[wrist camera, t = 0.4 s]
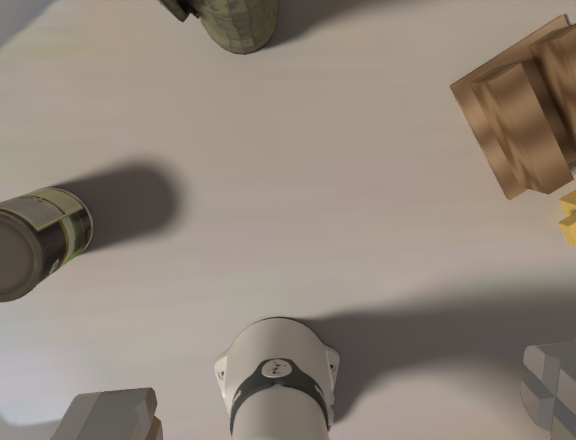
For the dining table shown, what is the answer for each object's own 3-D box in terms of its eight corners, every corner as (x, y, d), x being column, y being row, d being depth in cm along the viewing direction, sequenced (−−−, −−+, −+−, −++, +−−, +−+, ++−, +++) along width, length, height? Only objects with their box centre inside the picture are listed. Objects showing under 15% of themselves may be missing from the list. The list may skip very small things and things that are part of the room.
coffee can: (109, 237, 59) (62, 274, 46) (47, 272, 60) (-18, 319, 46) (65, 172, 57) (1, 191, 43) (0, 209, 58) (-83, 239, 44)
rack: (610, 136, 59) (655, 139, 52) (507, 198, 60) (537, 209, 54) (559, 15, 55) (600, 2, 48) (449, 85, 56) (474, 82, 50)
